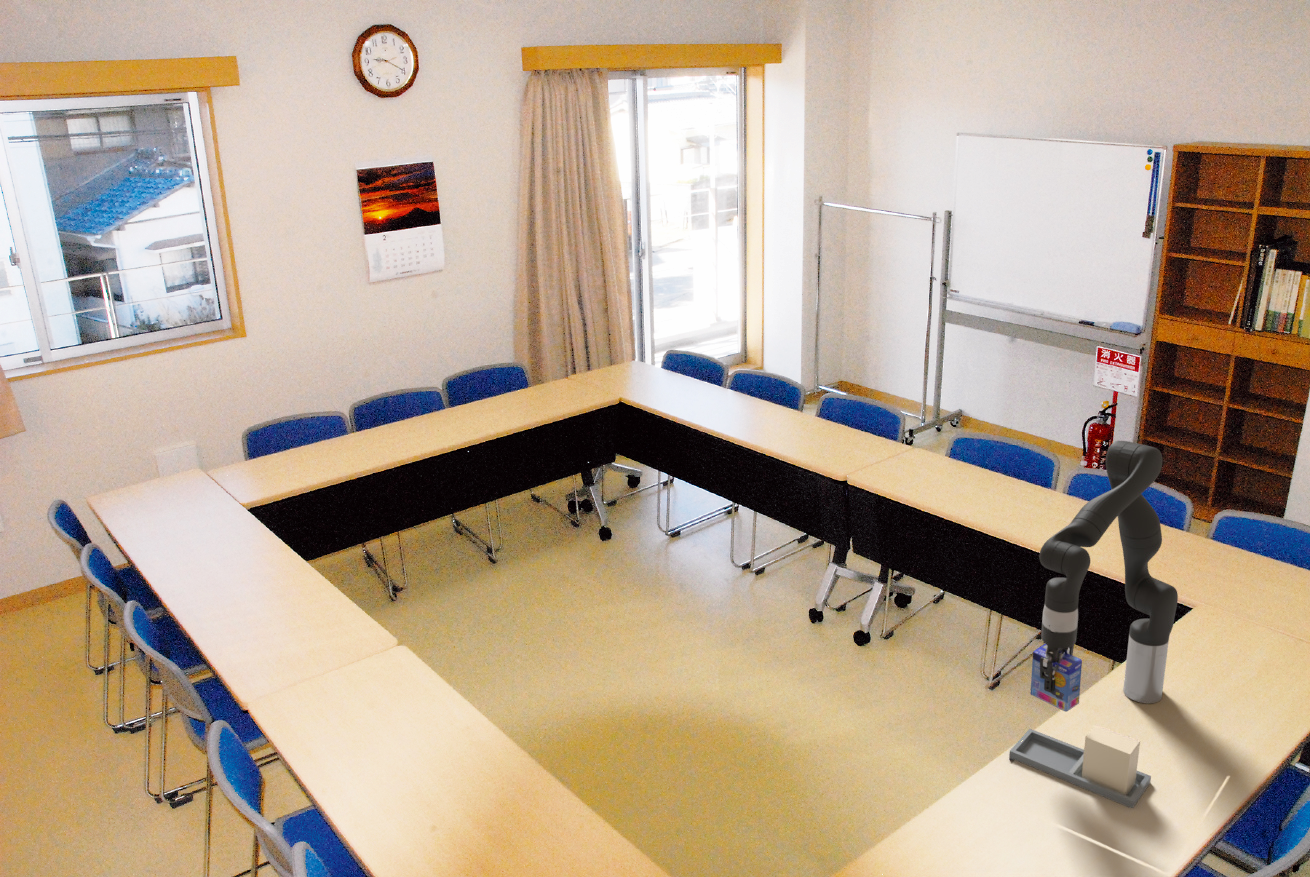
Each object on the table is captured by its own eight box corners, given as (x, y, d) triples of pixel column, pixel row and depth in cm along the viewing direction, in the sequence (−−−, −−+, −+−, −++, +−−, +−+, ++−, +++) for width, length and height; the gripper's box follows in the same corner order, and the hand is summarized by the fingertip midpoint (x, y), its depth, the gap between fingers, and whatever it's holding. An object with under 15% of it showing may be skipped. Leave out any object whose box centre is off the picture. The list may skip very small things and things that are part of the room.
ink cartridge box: (1028, 695, 248) (1032, 642, 243) (1041, 685, 251) (1045, 633, 246) (1066, 713, 241) (1070, 659, 235) (1079, 703, 244) (1084, 650, 238)
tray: (1029, 736, 260) (1029, 728, 259) (1150, 784, 241) (1151, 775, 240) (1009, 759, 253) (1009, 750, 252) (1132, 810, 234) (1133, 801, 233)
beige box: (1091, 766, 248) (1095, 724, 243) (1135, 783, 241) (1140, 740, 237) (1081, 779, 244) (1085, 737, 239) (1125, 797, 237) (1130, 754, 233)
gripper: (1057, 604, 245) (1052, 665, 251) (1030, 630, 236) (1025, 693, 242) (1089, 614, 241) (1083, 676, 247) (1062, 641, 231) (1057, 705, 237)
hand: (1054, 684), depth 244 cm, fingers closed on ink cartridge box, 5 cm apart
